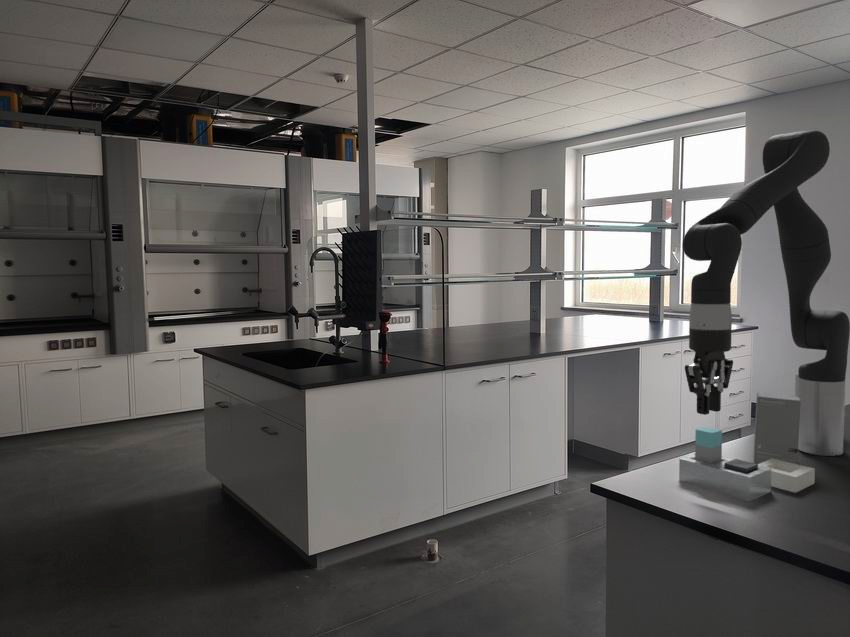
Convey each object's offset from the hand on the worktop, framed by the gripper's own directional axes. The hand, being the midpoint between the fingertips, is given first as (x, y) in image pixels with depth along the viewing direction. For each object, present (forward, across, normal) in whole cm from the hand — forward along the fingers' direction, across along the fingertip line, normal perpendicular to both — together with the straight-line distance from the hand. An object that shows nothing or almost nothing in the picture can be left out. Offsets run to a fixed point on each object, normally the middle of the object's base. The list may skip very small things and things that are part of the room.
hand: (708, 411), depth 118 cm
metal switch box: (+15, 0, -3) cm, 16 cm away
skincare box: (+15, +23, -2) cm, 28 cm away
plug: (+15, 0, 0) cm, 15 cm away
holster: (+15, +11, -9) cm, 21 cm away
